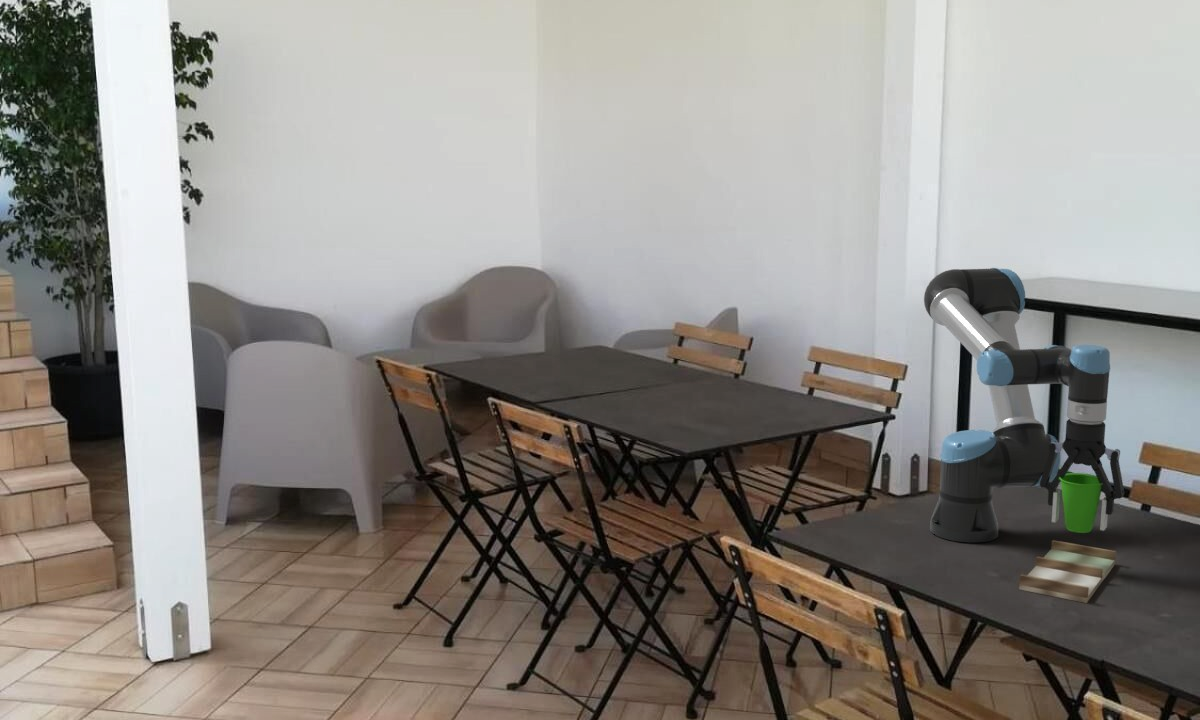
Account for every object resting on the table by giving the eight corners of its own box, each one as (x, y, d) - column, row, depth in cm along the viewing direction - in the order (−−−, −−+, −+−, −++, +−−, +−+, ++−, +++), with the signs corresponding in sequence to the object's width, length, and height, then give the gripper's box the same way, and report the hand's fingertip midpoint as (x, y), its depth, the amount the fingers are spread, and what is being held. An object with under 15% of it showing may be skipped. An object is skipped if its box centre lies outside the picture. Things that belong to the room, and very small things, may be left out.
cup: (1107, 536, 249) (1111, 485, 247) (1062, 535, 250) (1065, 484, 248) (1094, 523, 258) (1097, 473, 256) (1050, 521, 259) (1053, 472, 257)
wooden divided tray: (1019, 589, 244) (1020, 575, 243) (1051, 553, 264) (1052, 540, 264) (1086, 602, 236) (1087, 588, 236) (1114, 564, 257) (1115, 551, 257)
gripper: (1027, 417, 252) (1021, 520, 257) (1138, 430, 240) (1130, 538, 244) (1036, 410, 259) (1030, 511, 263) (1146, 423, 247) (1138, 528, 251)
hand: (1079, 524), depth 254 cm, fingers closed on cup, 9 cm apart
